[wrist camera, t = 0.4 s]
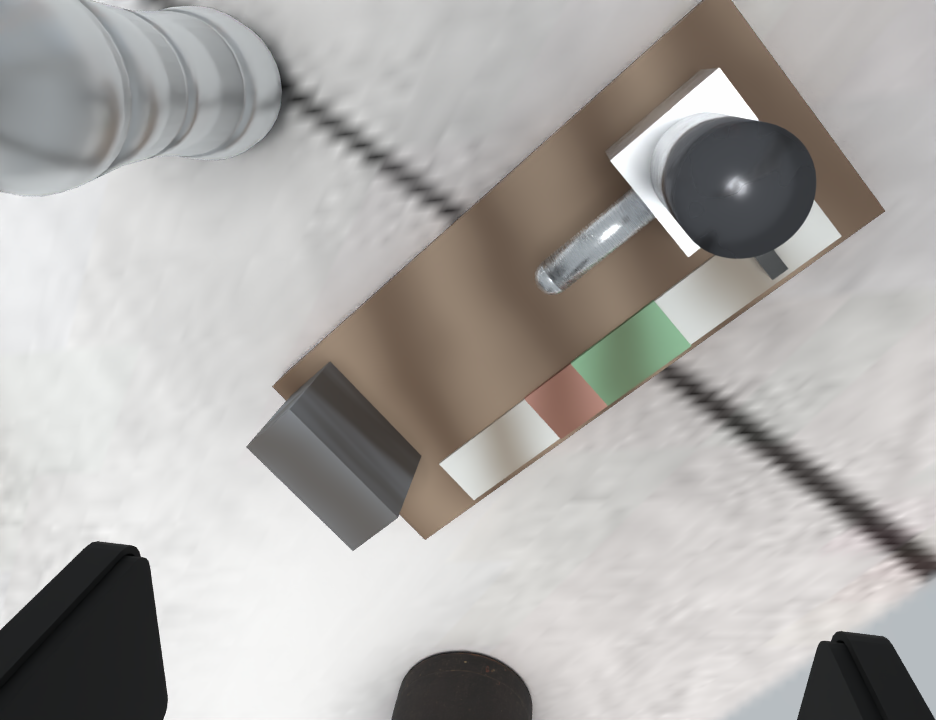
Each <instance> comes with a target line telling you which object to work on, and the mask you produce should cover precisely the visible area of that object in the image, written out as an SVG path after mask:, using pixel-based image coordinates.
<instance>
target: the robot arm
mask: <svg viewBox="0 0 936 720" xmlns="http://www.w3.org/2000/svg"><path fill="white" fill-rule="evenodd" d="M167 703H168V695H167V688H166V681H165V673H164V666H163V659H162V651H161V644H160V637H159V629H158V622H157V615H156V607H155V600H154V592H153V585H152V578H151V570H150V565H149V561H148V560H147V559H146V558H144V557H141V556H140V552H139V550H138V549H137V548H136V547H134V546H132V545H124V544H115V543H107V542H99V541H97V542H92V543H91V544H89V545H88V546H87V547H85V548H84V549H83V550H82V551H81V552H80V553H79V554H78V555H77V556H76V557H75V558H74V559H73V560H72V561H71V562H70V563H69V564H68V565H67V566H66V567H65V568H64V569H63V570H62V571H61V572H60V573H59V574H58V575H57V576H55V577H54V578H53V579H52V580H51V581H50V582H49V583H48V584H47V585H46V586H45V587H44V588H43V589H42V590H41V591H40V592H39V593H38V594H37V595H36V596H35V597H34V598H33V599H32V600H31V601H30V602H29V603H28V604H27V605H26V606H25V607H24V608H23V609H22V610H20V611H19V612H18V613H17V614H16V615H15V616H14V617H13V618H12V619H11V620H10V621H9V622H8V623H7V624H6V625H5V626H4V627H3V628H2V629H1V630H0V720H163V719H164V716H165V713H166V709H167ZM797 720H935V719H934V717H933V715H932V713H931V711H930V710H929V708H928V706H927V705H926V703H925V701H924V699H923V698H922V696H921V694H920V692H919V690H918V689H917V687H916V685H915V683H914V682H913V680H912V678H911V677H910V675H909V673H908V671H907V670H906V668H905V666H904V664H903V663H902V661H901V659H900V657H899V656H898V654H897V652H896V650H895V649H894V647H893V645H892V644H891V643H890V641H889V640H888V639H887V638H885V637H883V636H876V635H867V634H859V633H851V632H843V631H839V632H836V633H835V634H834V635H833V637H832V640H831V642H830V641H821V642H820V643H819V645H818V647H817V650H816V654H815V657H814V661H813V664H812V668H811V672H810V675H809V679H808V682H807V686H806V690H805V693H804V697H803V700H802V704H801V707H800V711H799V715H798V719H797Z"/></svg>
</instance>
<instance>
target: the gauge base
mask: <svg viewBox="0 0 936 720" xmlns="http://www.w3.org/2000/svg"><path fill="white" fill-rule="evenodd" d="M713 68H720V69H721V71H722V72H723V73H724V75H725V76H726V77H727V79H728V80H729V81H730V83H731V84H732V85H733V87H734V88H735V89H736V91H737V92H738V93H739V95H740V96H741V97H742V99H743V100H744V101H745V103H746V104H747V105H748V107H749V108H750V109H751V111H752V112H753V113H754V115H755V116H756V117H757V119H758V120H759V121H762V122H767V123H771V124H774V125H777V126H780V127H782V128H784V129H786V130H788V131H789V132H791V133H792V134H794V135H795V136H796V137H797V138H798V139H799V140H800V141H801V142H802V143H803V144H804V146H805V147H806V149H807V150H808V152H809V153H810V156H811V158H812V160H813V163H814V167H815V171H816V193H815V198H814V202H813V205H812V208H811V210H810V213H809V215H808V217H807V218H806V220H805V222H804V223H803V225H802V226H801V227H800V229H799V230H798V231H797V232H796V233H795V234H794V235H793V236H792V237H791V238H790V239H789V240H788V241H786V242H785V243H784V244H782V245H781V246H779V247H778V248H776V249H774V251H775V252H776V253H777V255H778V256H779V257H780V258H781V260H782V261H783V262H784V264H785V265H786V266H787V267H788V270H786V271H785V272H784V273H782V274H781V275H779V276H778V277H777V278H775V279H774V280H772V279H771V278H770V277H769V276H768V275H767V273H766V272H765V271H764V270H763V268H762V267H761V266H760V265H759V263H758V262H757V261H756V259H755V258H754V257H752V258H745V259H731V258H724V257H720V256H716V255H714V254H711V253H709V252H707V251H705V250H704V249H702V248H700V249H698V250H697V251H696V252H694V253H693V254H692V255H691V256H689V257H688V256H687V255H686V254H685V252H684V251H683V250H682V249H681V247H680V246H679V245H678V244H677V243H676V241H675V240H674V239H673V238H672V236H671V235H670V234H669V233H668V231H667V230H666V229H665V228H664V226H663V225H662V224H661V223H660V222H659V220H658V219H657V218H655V219H653V220H652V221H651V222H650V223H648V224H647V225H646V226H645V227H643V228H642V229H641V230H640V231H638V232H637V233H636V234H635V235H633V236H632V237H631V238H630V239H628V240H627V241H626V242H625V243H623V244H622V245H621V246H620V247H618V248H617V249H616V250H615V251H613V252H612V253H611V254H610V255H608V256H607V257H606V258H605V259H603V260H602V261H601V262H600V263H598V264H597V265H596V266H595V267H593V268H592V269H591V270H590V271H588V272H587V273H586V274H585V275H583V276H582V277H581V278H580V279H578V280H577V281H576V282H575V283H573V284H572V285H571V286H570V287H568V288H567V289H566V290H565V291H563V292H562V293H560V294H556V295H549V294H545V293H543V292H542V291H541V290H540V289H539V288H538V287H537V285H536V283H535V271H536V269H537V267H538V266H539V265H540V264H541V263H542V262H543V261H544V260H545V259H547V258H548V257H549V256H550V255H551V254H553V253H554V252H555V251H556V250H557V249H559V248H560V247H561V246H562V245H563V244H565V243H566V242H567V241H568V240H570V239H571V238H572V237H573V236H574V235H576V234H577V233H578V232H579V231H580V230H582V229H583V228H584V227H585V226H586V225H588V224H589V223H590V222H591V221H593V220H594V219H595V218H596V217H597V216H599V215H600V214H601V213H602V212H603V211H605V210H606V209H607V208H608V207H609V206H611V205H612V204H613V203H614V202H616V201H617V200H618V199H619V198H620V197H622V196H623V195H624V194H625V193H626V192H628V191H629V190H630V189H631V188H632V187H631V186H630V185H629V183H628V182H627V181H626V180H625V178H624V177H623V176H622V175H621V173H620V172H619V171H618V170H617V168H616V167H615V166H614V165H613V164H612V162H611V161H610V159H609V158H608V156H607V154H606V153H605V151H606V150H607V149H609V148H610V147H611V146H612V145H613V144H614V143H616V142H617V141H618V140H619V139H620V138H621V137H623V136H624V135H625V134H626V133H627V132H628V131H630V130H631V129H632V128H633V127H634V126H635V125H637V124H638V123H639V122H640V121H641V120H642V119H644V118H645V117H646V116H647V115H648V114H649V113H651V112H652V111H653V110H654V109H655V108H656V107H658V106H659V105H660V104H661V103H662V102H663V101H665V100H666V99H667V98H668V97H669V96H670V95H672V94H673V93H674V92H675V91H676V90H677V89H679V88H680V87H681V86H682V85H683V84H684V83H686V82H687V81H688V80H689V79H690V78H691V77H692V76H694V75H695V74H696V73H697V72H698V71H699V70H702V69H713ZM883 212H885V210H884V209H883V207H882V206H881V204H880V203H879V202H878V200H877V199H876V198H875V196H874V195H873V194H872V192H871V191H870V189H869V188H868V187H867V185H866V184H865V183H864V181H863V180H862V179H861V177H860V176H859V174H858V173H857V172H856V170H855V169H854V168H853V166H852V165H851V163H850V162H849V161H848V159H847V158H846V157H845V155H844V154H843V153H842V151H841V150H840V148H839V147H838V146H837V144H836V143H835V142H834V140H833V139H832V137H831V136H830V135H829V133H828V132H827V131H826V129H825V128H824V127H823V125H822V124H821V122H820V121H819V120H818V118H817V117H816V116H815V114H814V113H813V112H812V110H811V109H810V107H809V106H808V105H807V103H806V102H805V101H804V99H803V98H802V96H801V95H800V94H799V92H798V91H797V90H796V88H795V87H794V86H793V84H792V83H791V81H790V80H789V79H788V77H787V76H786V75H785V73H784V72H783V70H782V69H781V68H780V66H779V65H778V64H777V62H776V61H775V60H774V58H773V57H772V55H771V54H770V53H769V51H768V50H767V49H766V47H765V46H764V45H763V43H762V42H761V40H760V39H759V38H758V36H757V35H756V34H755V32H754V31H753V29H752V28H751V27H750V25H749V24H748V23H747V21H746V20H745V19H744V17H743V16H742V14H741V13H740V12H739V10H738V9H737V8H736V6H735V5H734V3H733V2H732V1H731V0H702V1H701V2H700V3H699V4H698V5H697V6H696V7H695V8H694V9H692V10H691V11H690V12H689V13H688V14H687V15H686V16H685V17H683V18H682V19H681V20H680V21H679V22H678V23H677V24H676V25H675V26H673V27H672V28H671V29H670V30H669V31H668V32H667V33H666V34H664V35H663V36H662V37H661V38H660V39H659V40H658V41H657V42H656V43H654V44H653V45H652V46H651V47H650V48H649V49H648V50H647V51H645V52H644V53H643V54H642V55H641V56H640V57H639V58H638V59H636V60H635V61H634V62H633V63H632V64H631V65H630V66H629V67H628V68H626V69H625V70H624V71H623V72H622V73H621V74H620V75H619V76H617V77H616V78H615V79H614V80H613V81H612V82H611V83H610V84H609V85H607V86H606V87H605V88H604V89H603V90H602V91H601V92H600V93H598V94H597V95H596V96H595V97H594V98H593V99H592V100H591V101H590V102H588V103H587V104H586V105H585V106H584V107H583V108H582V109H581V110H579V111H578V112H577V113H576V114H575V115H574V116H573V117H572V118H570V119H569V120H568V121H567V122H566V123H565V124H564V125H563V126H562V127H560V128H559V129H558V130H557V131H556V132H555V133H554V134H553V135H551V136H550V137H549V138H548V139H547V140H546V141H545V142H544V143H543V144H541V145H540V146H539V147H538V148H537V149H536V150H535V151H534V152H532V153H531V154H530V155H529V156H528V157H527V158H526V159H525V160H523V161H522V162H521V163H520V164H519V165H518V166H517V167H516V168H515V169H513V170H512V171H511V172H510V173H509V174H508V175H507V176H506V177H504V178H503V179H502V180H501V181H500V182H499V183H498V184H497V185H496V186H494V187H493V188H492V189H491V190H490V191H489V192H488V193H487V194H485V195H484V196H483V197H482V198H481V199H480V200H479V201H478V202H477V203H475V204H474V205H473V206H472V207H471V208H470V209H469V210H468V211H466V212H465V213H464V214H463V215H462V216H461V217H460V218H459V219H457V220H456V221H455V222H454V223H453V224H452V225H451V226H450V227H449V228H447V229H446V230H445V231H444V232H443V233H442V234H441V235H440V236H438V237H437V238H436V239H435V240H434V241H433V242H432V243H431V244H430V245H428V246H427V247H426V248H425V249H424V250H423V251H422V252H421V253H419V254H418V255H417V256H416V257H415V258H414V259H413V260H412V261H411V262H409V263H408V264H407V265H406V266H405V267H404V268H403V269H402V270H400V271H399V272H398V273H397V274H396V275H395V276H394V277H393V278H391V279H390V280H389V281H388V282H387V283H386V284H385V285H384V286H383V287H381V288H380V289H379V290H378V291H377V292H376V293H375V294H374V295H372V296H371V297H370V298H369V299H368V300H367V301H366V302H365V303H364V304H362V305H361V306H360V307H359V308H358V309H357V310H356V311H355V312H353V313H352V314H351V315H350V316H349V317H348V318H347V319H346V320H344V321H343V322H342V323H341V324H340V325H339V326H338V327H337V328H336V329H334V330H333V331H332V332H331V333H330V334H329V335H328V336H327V337H325V338H324V339H323V340H322V341H321V342H320V343H319V344H318V345H317V346H315V347H314V348H313V349H312V350H311V351H310V352H309V353H308V354H306V355H305V356H304V357H303V358H302V359H301V360H300V361H299V362H298V363H296V364H295V365H294V366H293V367H292V368H291V369H290V370H289V371H287V372H286V373H285V374H284V375H283V376H282V377H281V378H280V379H279V380H278V381H277V382H276V383H275V384H274V385H273V386H272V387H273V388H274V389H275V390H276V391H277V392H278V393H279V394H280V395H281V396H282V397H283V398H284V399H285V400H286V402H285V403H284V404H283V405H282V406H281V408H280V409H279V410H278V411H277V412H276V413H275V414H274V416H273V417H272V418H271V419H270V420H269V421H268V423H267V424H266V425H265V426H264V427H263V428H262V429H261V431H260V432H259V433H258V434H257V435H256V436H255V437H254V439H253V440H252V441H251V442H250V443H249V444H248V445H247V448H248V449H249V450H250V451H251V452H252V453H253V454H254V455H255V456H256V457H257V458H258V459H259V460H260V461H261V462H262V463H263V464H264V465H265V466H266V467H267V468H268V469H269V470H270V471H271V472H272V473H273V474H274V475H275V476H276V477H277V478H279V479H280V480H281V481H282V482H283V483H284V484H285V485H286V486H287V487H288V488H289V489H290V490H291V491H292V492H293V493H294V494H295V495H296V496H297V497H298V498H299V499H300V500H301V501H302V502H303V503H304V504H305V505H306V506H307V507H308V508H309V509H310V510H311V511H312V512H313V513H314V514H316V515H317V516H318V517H319V518H320V519H321V520H322V521H323V522H324V523H325V524H326V525H327V526H328V527H329V528H330V529H331V530H332V531H333V532H334V533H335V534H336V535H337V536H338V537H339V538H340V539H341V540H342V541H343V542H344V543H345V544H346V545H347V546H348V547H349V548H350V549H351V550H352V551H354V550H355V549H356V548H358V547H359V546H360V545H362V544H363V543H364V542H366V541H367V540H368V539H370V538H371V537H373V536H374V535H375V534H377V533H378V532H379V531H381V530H382V529H383V528H385V527H386V526H387V525H389V524H390V523H391V522H393V521H394V520H395V519H397V518H398V516H399V514H400V515H401V516H402V517H403V518H404V519H405V520H406V521H407V522H408V523H409V524H410V525H411V526H412V527H413V528H414V529H415V530H416V531H417V532H418V533H419V534H420V535H421V536H422V537H423V538H424V539H425V540H426V539H427V538H429V537H430V536H431V535H433V534H434V533H436V532H437V531H438V530H440V529H441V528H443V527H444V526H445V525H447V524H448V523H450V522H451V521H452V520H454V519H455V518H457V517H458V516H459V515H461V514H462V513H464V512H465V511H466V510H468V509H469V508H471V507H472V506H473V505H475V504H476V503H478V502H479V501H480V500H482V499H483V498H485V497H486V496H487V495H489V494H490V493H492V492H493V491H494V490H496V489H497V488H499V487H500V486H501V485H503V484H504V483H506V482H507V481H508V480H510V479H511V478H513V477H514V476H515V475H517V474H518V473H520V472H521V471H522V470H524V469H525V468H527V467H528V466H529V465H531V464H532V463H534V462H535V461H536V460H538V459H539V458H541V457H542V456H543V455H545V454H546V453H548V452H549V451H550V450H552V449H553V448H555V447H556V446H557V445H559V444H560V443H562V442H563V441H564V440H566V439H567V438H568V437H570V436H571V435H573V434H574V433H575V432H577V431H578V430H580V429H581V428H582V427H584V426H585V425H587V424H588V423H589V422H591V421H592V420H594V419H595V418H596V417H598V416H599V415H601V414H602V413H603V412H605V411H606V410H608V409H609V408H610V407H612V406H613V405H615V404H616V403H617V402H619V401H620V400H622V399H623V398H624V397H626V396H627V395H629V394H630V393H631V392H633V391H634V390H636V389H637V388H638V387H640V386H641V385H643V384H644V383H645V382H647V381H648V380H650V379H651V378H652V377H654V376H655V375H657V374H658V373H659V372H661V371H662V370H664V369H665V368H666V367H668V366H669V365H671V364H672V363H673V362H675V361H676V360H678V359H679V358H680V357H682V356H683V355H685V354H686V353H687V352H689V351H690V350H692V349H693V348H694V347H696V346H697V345H699V344H700V343H701V342H703V341H704V340H706V339H707V338H708V337H710V336H711V335H713V334H714V333H715V332H717V331H718V330H720V329H721V328H722V327H724V326H725V325H727V324H728V323H729V322H731V321H732V320H734V319H735V318H736V317H738V316H739V315H741V314H742V313H743V312H745V311H746V310H748V309H749V308H750V307H752V306H753V305H755V304H756V303H757V302H759V301H760V300H762V299H763V298H764V297H766V296H767V295H769V294H770V293H771V292H773V291H774V290H776V289H777V288H778V287H780V286H781V285H783V284H784V283H785V282H787V281H788V280H790V279H791V278H792V277H794V276H795V275H797V274H798V273H799V272H801V271H802V270H804V269H805V268H806V267H808V266H809V265H811V264H812V263H813V262H815V261H816V260H818V259H819V258H820V257H822V256H823V255H825V254H826V253H827V252H829V251H830V250H832V249H833V248H834V247H836V246H837V245H839V244H840V243H841V242H843V241H844V240H846V239H847V238H848V237H850V236H851V235H853V234H854V233H855V232H857V231H858V230H860V229H861V228H862V227H864V226H865V225H867V224H868V223H869V222H871V221H872V220H874V219H875V218H876V217H878V216H879V215H881V214H882V213H883Z"/></svg>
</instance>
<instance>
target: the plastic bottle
mask: <svg viewBox="0 0 936 720" xmlns="http://www.w3.org/2000/svg"><path fill="white" fill-rule="evenodd" d="M281 97H282V87H281V78H280V74H279V71H278V67H277V64H276V62H275V60H274V58H273V56H272V54H271V52H270V50H269V49H268V48H267V46H266V45H265V43H264V42H263V41H262V39H261V38H260V37H258V36H257V35H256V34H255V33H254V32H253V31H252V30H251V29H250V28H248V27H247V26H245V25H244V24H242V23H241V22H239V21H238V20H236V19H234V18H233V17H231V16H230V15H228V14H226V13H223V12H221V11H218V10H216V9H213V8H208V7H203V6H180V7H170V8H166V9H162V10H158V11H131V10H126V9H122V8H119V7H115V6H111V5H107V4H103V3H99V2H95V1H92V0H0V192H3V193H9V194H14V195H20V196H47V195H52V194H57V193H61V192H64V191H67V190H70V189H74V188H77V187H79V186H81V185H84V184H86V183H88V182H90V181H92V180H94V179H96V178H98V177H100V176H102V175H104V174H107V173H109V172H111V171H113V170H115V169H117V168H119V167H121V166H124V165H127V164H131V163H135V162H138V161H142V160H145V159H148V158H153V157H161V156H179V157H184V158H189V159H197V160H222V159H227V158H232V157H235V156H237V155H239V154H241V153H243V152H245V151H247V150H248V149H249V148H251V147H252V146H254V145H255V144H256V143H258V142H259V141H260V140H262V139H263V138H264V137H265V136H266V134H267V133H268V132H269V131H270V130H271V128H272V127H273V125H274V123H275V121H276V119H277V117H278V113H279V110H280V106H281Z"/></svg>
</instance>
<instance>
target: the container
mask: <svg viewBox="0 0 936 720" xmlns="http://www.w3.org/2000/svg"><path fill="white" fill-rule="evenodd" d="M392 720H532V702H531V698H530V694H529V692H528V690H527V688H526V686H525V684H524V683H523V682H522V680H521V679H520V678H519V677H518V676H517V675H516V674H515V673H514V672H513V671H512V670H510V669H509V668H508V667H506V666H505V665H503V664H501V663H499V662H497V661H495V660H493V659H491V658H488V657H485V656H482V655H478V654H471V653H446V654H440V655H437V656H434V657H431V658H428V659H426V660H424V661H422V662H421V663H419V664H418V665H416V666H415V667H414V668H413V669H411V670H410V671H409V672H408V674H407V675H406V676H405V678H404V680H403V682H402V684H401V687H400V690H399V693H398V697H397V700H396V704H395V708H394V711H393V716H392Z"/></svg>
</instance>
